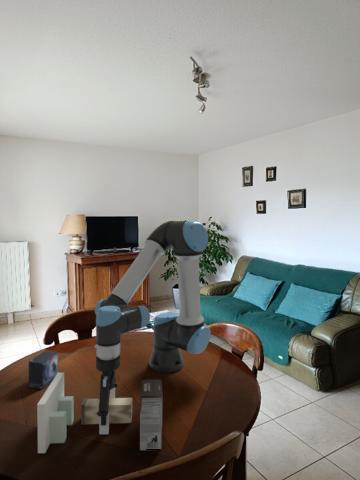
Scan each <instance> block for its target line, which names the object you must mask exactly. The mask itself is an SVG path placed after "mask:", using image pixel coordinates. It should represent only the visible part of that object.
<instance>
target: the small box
mask: <svg viewBox="0 0 360 480" xmlns="http://www.w3.org/2000/svg"><path fill="white" fill-rule="evenodd" d="M58 361H59V352H56V351H55V352H54V351H49V350H44V351H42V352H41V353H39V354H37V355H36V356H34V357H33V358H31V359H30V360H28V388H30V389H37V390H43V389H44V388H46V387H47V386H48V385H50V384H51V383H52V381H53V380H54V378H55V376H56V375H57V373H59V366H58V365H59V362H58Z"/></svg>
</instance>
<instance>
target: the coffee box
mask: <svg viewBox="0 0 360 480" xmlns="http://www.w3.org/2000/svg"><path fill="white" fill-rule="evenodd" d="M139 395H140V397H139V403H140V404H139V451H147V450H146V449H161V448H162V446H163V445H162V444H163V440H162V439H163V383H162V379H141V380H140V394H139ZM162 449H163V448H162ZM162 449H161V450H162Z"/></svg>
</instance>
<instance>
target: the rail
mask: <svg viewBox="0 0 360 480" xmlns="http://www.w3.org/2000/svg"><path fill="white" fill-rule="evenodd" d="M99 399H100V398H88V397H84V398H83V400H82V403H81V405H80V406H81V408H80V409H81V410H80V413H81V418H80V419H81V423H80V425H99V416H98V415H97V412H98V411H99ZM108 412H109V425H111V424H131V423H132V418H133V397H115V398H109V408H108Z"/></svg>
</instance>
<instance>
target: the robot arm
mask: <svg viewBox="0 0 360 480" xmlns="http://www.w3.org/2000/svg"><path fill="white" fill-rule="evenodd" d="M208 243H209V234H208V231H207V229H206V227H205V226H204V225H203V224H202V223H201V222H198V221H193V220H168V221H165V222H163V223H161V224H160V225H158V226H157V227H156V228H155V229H154V230H153V231H152V232H151V233H150V234H149V235H148V237H147V238H146V240H145V241H144V246H143V248H142V249H141V251H140V252H139V253H138V254H137V256H136V257H135V259H134V261H133V262H132V263H131V265H130V266H129V267H128V268H127V270H126V272H125V273H124V275H123V276H122V277H121V279H120V280H119V282H117V284H116V285H115V287H114V288H113V289H112V291H111V292H110V294H109V295H108V296H107V298H102V299H100V300H98V302H96V304H95V307H94V313H95V328H96V329H95V331H96V332H95V335H96V336H95V341H96V342H95V343H96V344H95V345H94V349H95V354H96V355H95V356H96V357H95V367H96V370H97V371H99V372H101V375H100V381H99V383H100V385H99V386H100V388H99V398H98V399H99V411H98V412H97V415H98V416H99V424H98V427H99V428H98V429H99V431H98V433H99V435H109V433H110V424H109V412H108V408H109V398H116V388H117V387H118V383H117V380H116V379H117V378H116V370H118V369H119V368H120V366H121V355H120V354H121V335H123V334H125V333H129V332H132V331H136V330H140V329H142V328H144V327H147V326H148V325H149V324H150V321H151V314H150V311H149V309H148V308H147V307H146V306H145V305H136V306H130V305H128V304H129V303H130V301H131V299H132V298H133V297H134V295H135V294H136V293H137V291H138V289H139V288H140V287H141V284H143V282H144V280H145V279H146V278H147V276H148V274H149V273H150V271H151V270H152V269H153V267H154V266H155V264H156V262H157V261H158V260H159V258H160V257H162V256H164V255H165V254H166V252H168V250H170V249H171V250H173V256H174V257H175V258H176V259H177V274H178V275H177V279H178V280H177V281H178V303H179V304H178V306H179V310H178V311H179V313H178V312H164V313H160V314H157V315H156V316H154V318H153V349H152V352H151V355H150V358H149V367H150V369H152V370H153V371H155V372H158V373H163V374H164V373H167V374H169V373H173V372H177V371H180V370H181V369H183V367H184V358H183V355H182V351H181V350H183V351H186V352H187V353H190V354H195V355H199V354H201V353H203V352H204V351H205V349H206V348H207V347H208V344H209V342H210V339H211V329H210V328H209V327H208V326H206V325H205V318H204V317H203V316H202V315H201V292H200V287H201V286H200V260H199V259H200V258H201V257H202V256H203V251H205V249H206V248H207V245H208Z"/></svg>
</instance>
